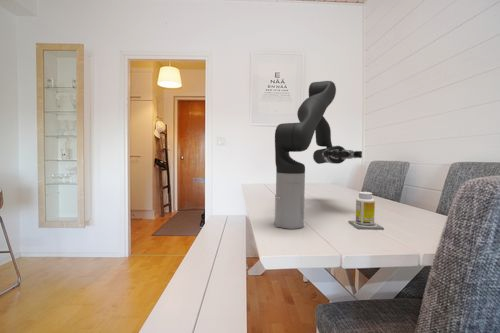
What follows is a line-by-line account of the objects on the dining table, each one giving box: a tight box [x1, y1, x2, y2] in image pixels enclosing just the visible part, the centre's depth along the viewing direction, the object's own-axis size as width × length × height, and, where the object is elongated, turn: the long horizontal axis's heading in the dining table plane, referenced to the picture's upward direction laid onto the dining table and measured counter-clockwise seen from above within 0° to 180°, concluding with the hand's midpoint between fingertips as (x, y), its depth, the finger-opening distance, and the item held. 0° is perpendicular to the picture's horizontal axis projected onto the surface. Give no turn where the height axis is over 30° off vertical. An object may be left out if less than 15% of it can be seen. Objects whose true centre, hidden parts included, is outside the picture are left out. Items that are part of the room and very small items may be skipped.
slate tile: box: [347, 220, 384, 231], centre depth 83 cm, size 8×8×1 cm
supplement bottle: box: [355, 191, 376, 225], centre depth 83 cm, size 6×6×10 cm
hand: (348, 153), depth 93 cm, fingers open, 8 cm apart
